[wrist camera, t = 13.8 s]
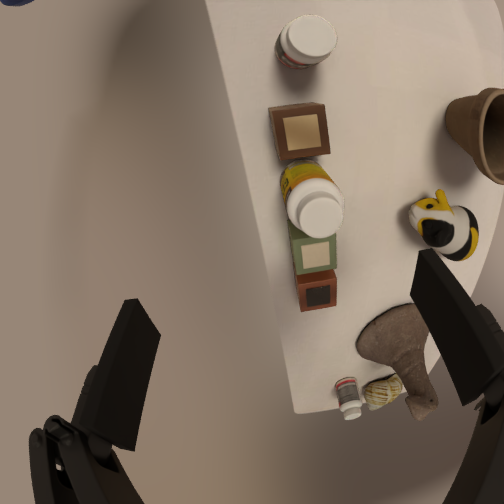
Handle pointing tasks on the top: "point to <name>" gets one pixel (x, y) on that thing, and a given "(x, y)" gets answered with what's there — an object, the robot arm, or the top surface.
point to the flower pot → (480, 130)
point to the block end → (316, 289)
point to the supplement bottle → (312, 198)
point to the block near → (300, 130)
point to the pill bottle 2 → (349, 398)
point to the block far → (312, 251)
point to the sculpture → (402, 354)
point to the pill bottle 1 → (305, 42)
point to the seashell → (382, 392)
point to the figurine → (445, 226)
